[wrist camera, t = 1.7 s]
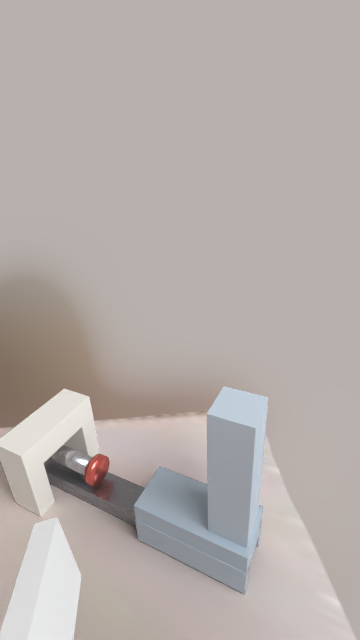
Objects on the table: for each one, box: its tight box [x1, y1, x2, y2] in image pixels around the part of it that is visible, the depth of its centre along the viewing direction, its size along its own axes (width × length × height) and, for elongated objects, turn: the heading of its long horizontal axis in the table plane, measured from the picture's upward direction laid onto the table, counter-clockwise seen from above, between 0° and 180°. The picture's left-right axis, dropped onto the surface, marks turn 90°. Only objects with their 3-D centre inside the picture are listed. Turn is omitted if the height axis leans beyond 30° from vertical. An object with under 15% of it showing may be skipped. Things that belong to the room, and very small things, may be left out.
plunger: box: [49, 445, 109, 486], centre depth 39 cm, size 9×3×3 cm, turn 63°
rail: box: [44, 459, 145, 526], centre depth 37 cm, size 24×3×2 cm, turn 63°
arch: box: [0, 389, 100, 516], centre depth 40 cm, size 4×10×9 cm, turn 153°
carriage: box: [134, 387, 268, 594], centre depth 30 cm, size 11×5×18 cm, turn 63°
